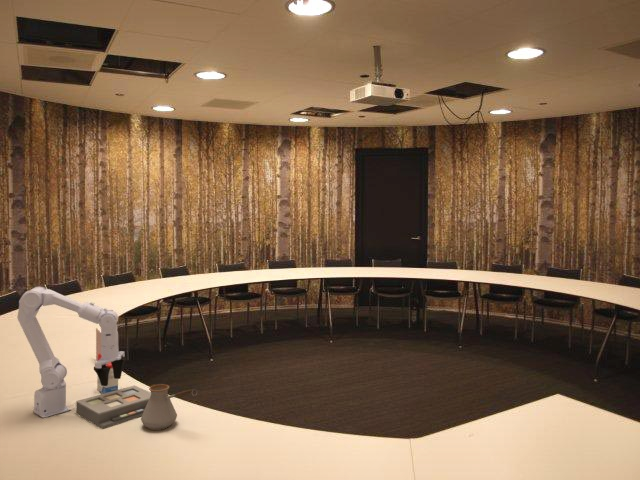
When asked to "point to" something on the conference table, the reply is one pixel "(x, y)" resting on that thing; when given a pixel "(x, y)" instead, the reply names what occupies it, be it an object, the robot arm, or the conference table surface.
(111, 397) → the key sand
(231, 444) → the conference table surface
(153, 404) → the coffee pot
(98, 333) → the open printed carton
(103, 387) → the ink box
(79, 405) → the grey sorting tray
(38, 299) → the robot arm
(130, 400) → the key terracotta
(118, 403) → the key cream
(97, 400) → the key sage
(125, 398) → the key slate
